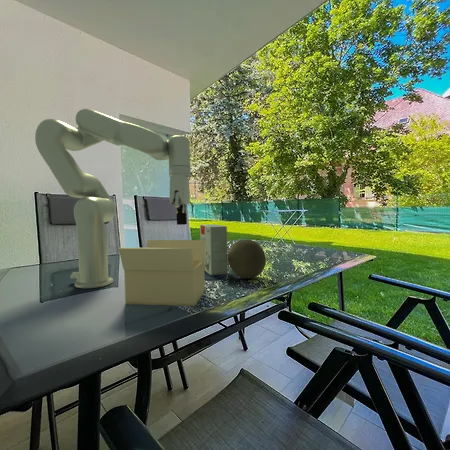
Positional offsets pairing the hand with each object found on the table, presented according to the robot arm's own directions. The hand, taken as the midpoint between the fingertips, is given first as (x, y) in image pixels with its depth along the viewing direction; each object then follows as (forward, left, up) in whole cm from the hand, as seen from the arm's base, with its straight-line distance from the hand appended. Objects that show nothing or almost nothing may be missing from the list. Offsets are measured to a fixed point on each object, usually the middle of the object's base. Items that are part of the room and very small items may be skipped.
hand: (181, 224), depth 97 cm
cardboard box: (0, -16, -21) cm, 26 cm away
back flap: (0, -7, -8) cm, 11 cm away
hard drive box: (+8, +21, -22) cm, 31 cm away
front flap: (0, -24, -8) cm, 25 cm away
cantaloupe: (+23, +8, -22) cm, 32 cm away
